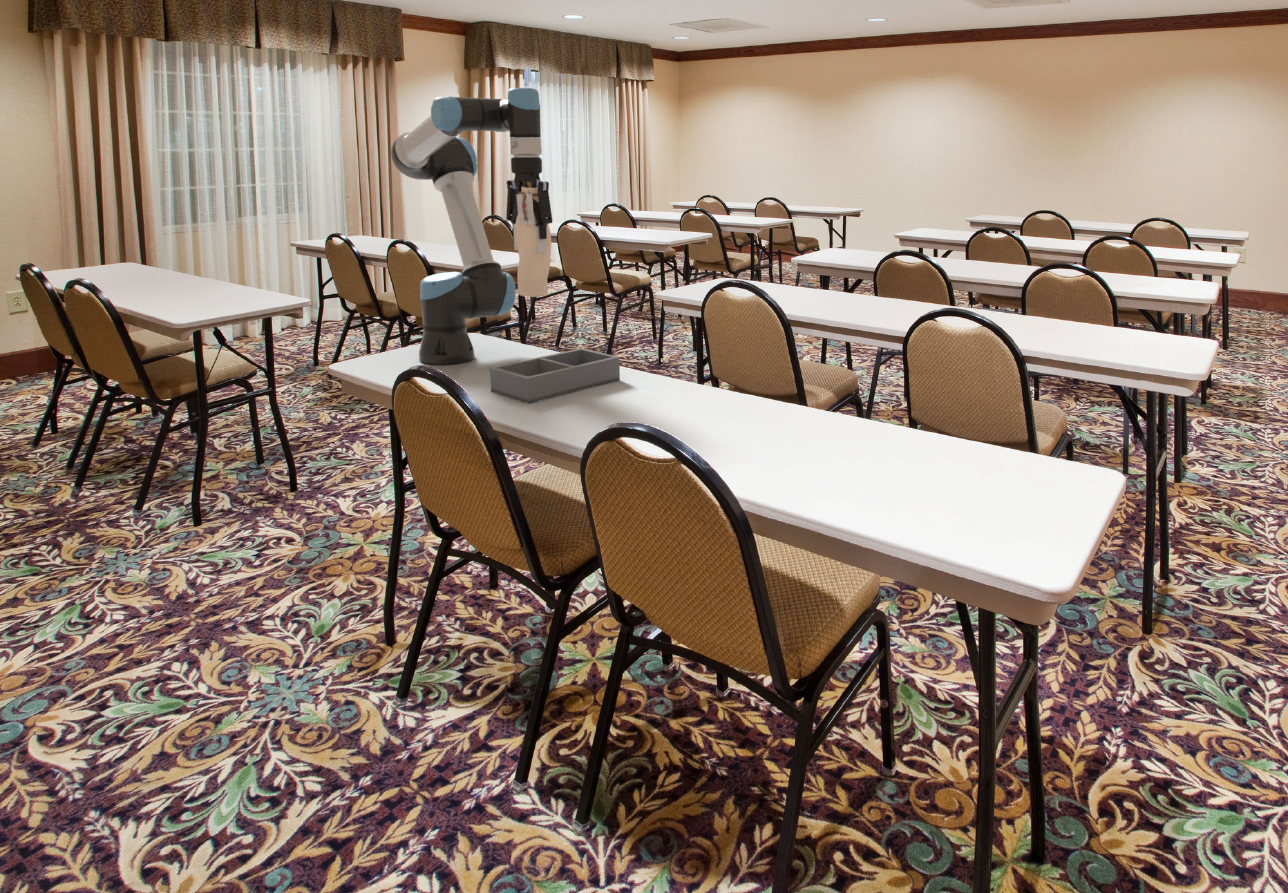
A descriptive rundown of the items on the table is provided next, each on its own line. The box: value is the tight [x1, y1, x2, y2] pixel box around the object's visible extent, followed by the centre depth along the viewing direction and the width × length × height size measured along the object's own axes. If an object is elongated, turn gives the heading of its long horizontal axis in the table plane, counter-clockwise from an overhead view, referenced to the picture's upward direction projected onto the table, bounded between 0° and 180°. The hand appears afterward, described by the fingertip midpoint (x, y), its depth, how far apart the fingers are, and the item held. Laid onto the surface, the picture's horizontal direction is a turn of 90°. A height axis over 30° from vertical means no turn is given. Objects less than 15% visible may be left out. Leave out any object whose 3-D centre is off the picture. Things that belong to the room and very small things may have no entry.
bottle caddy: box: [489, 347, 621, 405], centre depth 210 cm, size 14×30×6 cm, turn 136°
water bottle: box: [515, 181, 552, 298], centre depth 214 cm, size 10×9×28 cm
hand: (530, 251), depth 215 cm, fingers closed on water bottle, 8 cm apart
